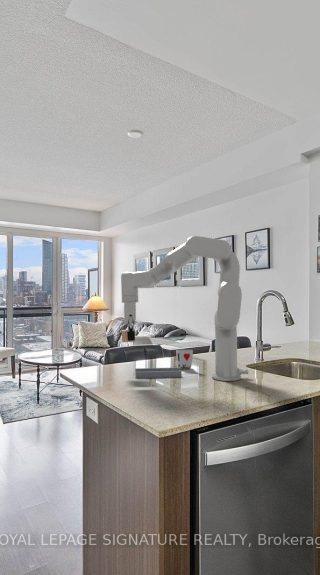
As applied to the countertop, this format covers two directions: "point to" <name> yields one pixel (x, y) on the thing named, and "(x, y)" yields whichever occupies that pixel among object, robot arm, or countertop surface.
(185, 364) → the cup
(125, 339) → the block
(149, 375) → the grey railed tray
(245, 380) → the countertop surface
